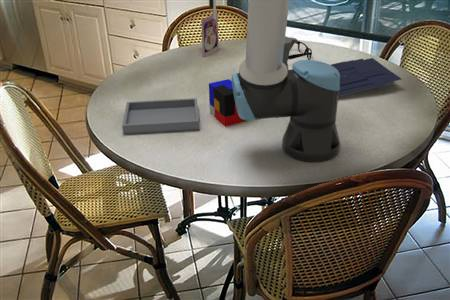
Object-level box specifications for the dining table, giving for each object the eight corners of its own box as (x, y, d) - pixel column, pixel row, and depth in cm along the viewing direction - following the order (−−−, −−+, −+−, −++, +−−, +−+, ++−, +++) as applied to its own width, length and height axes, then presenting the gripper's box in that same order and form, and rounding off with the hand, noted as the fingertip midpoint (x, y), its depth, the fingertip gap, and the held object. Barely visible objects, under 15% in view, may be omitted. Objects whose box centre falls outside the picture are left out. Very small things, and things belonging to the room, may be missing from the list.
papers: (405, 89, 159) (405, 78, 157) (318, 109, 155) (318, 99, 153) (369, 63, 179) (370, 53, 177) (292, 80, 175) (292, 71, 174)
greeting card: (205, 57, 190) (203, 19, 183) (189, 54, 194) (187, 17, 186) (220, 49, 199) (219, 12, 191) (205, 46, 202) (203, 10, 194)
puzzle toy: (209, 113, 149) (208, 83, 144) (238, 106, 153) (238, 76, 147) (224, 127, 141) (224, 95, 136) (254, 119, 145) (255, 88, 140)
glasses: (315, 65, 184) (316, 53, 182) (270, 68, 180) (271, 55, 178) (299, 51, 198) (300, 39, 195) (257, 53, 194) (258, 41, 192)
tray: (199, 130, 139) (198, 121, 138) (123, 134, 138) (122, 125, 137) (197, 106, 153) (196, 98, 151) (128, 110, 151) (126, 101, 150)
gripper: (277, -61, 142) (275, 12, 153) (192, -58, 141) (196, 15, 151) (282, -58, 136) (279, 18, 146) (192, -55, 134) (196, 22, 145)
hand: (237, 17), depth 149 cm, fingers open, 13 cm apart
